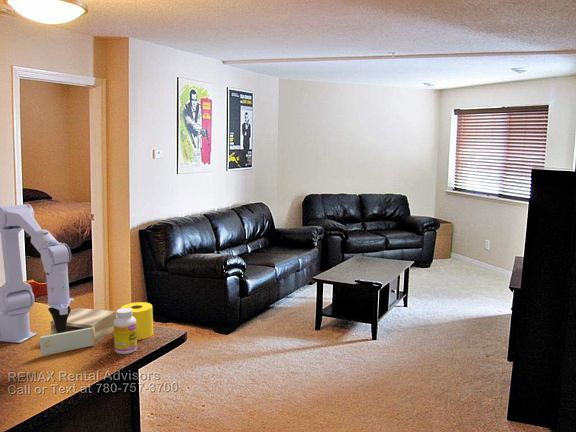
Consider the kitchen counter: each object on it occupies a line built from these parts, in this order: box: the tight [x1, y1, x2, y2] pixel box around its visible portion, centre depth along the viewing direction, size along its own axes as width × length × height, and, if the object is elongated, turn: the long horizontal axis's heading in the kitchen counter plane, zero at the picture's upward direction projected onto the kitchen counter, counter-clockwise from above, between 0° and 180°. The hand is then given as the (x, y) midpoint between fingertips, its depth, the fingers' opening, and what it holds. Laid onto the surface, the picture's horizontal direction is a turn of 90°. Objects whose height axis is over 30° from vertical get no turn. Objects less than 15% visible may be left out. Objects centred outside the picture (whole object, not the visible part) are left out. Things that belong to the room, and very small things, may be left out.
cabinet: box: [50, 307, 117, 344], centre depth 178 cm, size 15×14×6 cm
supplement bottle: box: [113, 307, 138, 355], centre depth 166 cm, size 7×7×13 cm
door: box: [39, 327, 96, 357], centre depth 165 cm, size 16×2×6 cm, turn 122°
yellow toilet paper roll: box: [120, 301, 154, 341], centre depth 179 cm, size 10×10×9 cm
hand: (60, 331), depth 158 cm, fingers closed
